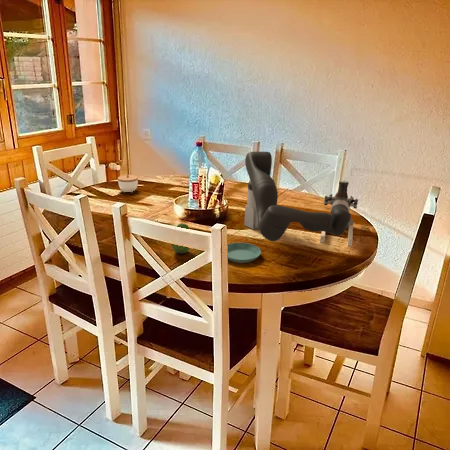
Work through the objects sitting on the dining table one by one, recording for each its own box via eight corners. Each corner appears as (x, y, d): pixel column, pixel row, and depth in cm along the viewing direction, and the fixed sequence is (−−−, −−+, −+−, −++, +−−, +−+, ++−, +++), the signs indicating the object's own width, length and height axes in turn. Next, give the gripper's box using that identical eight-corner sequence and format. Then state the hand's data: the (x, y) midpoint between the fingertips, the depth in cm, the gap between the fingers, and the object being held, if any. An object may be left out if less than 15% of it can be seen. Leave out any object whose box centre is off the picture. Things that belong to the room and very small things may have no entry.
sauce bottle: (337, 227, 185) (343, 183, 179) (327, 223, 190) (332, 180, 184) (348, 225, 189) (354, 182, 182) (338, 221, 194) (343, 179, 187)
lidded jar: (122, 187, 236) (121, 171, 233) (141, 188, 235) (140, 172, 232) (115, 193, 226) (114, 176, 223) (134, 194, 225) (133, 177, 222)
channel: (351, 246, 168) (353, 235, 166) (320, 242, 171) (321, 231, 169) (352, 230, 184) (353, 219, 182) (323, 227, 187) (324, 216, 185)
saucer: (221, 265, 151) (221, 259, 150) (221, 248, 164) (221, 242, 163) (262, 266, 151) (262, 259, 150) (258, 248, 165) (259, 242, 164)
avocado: (193, 256, 157) (193, 226, 152) (172, 257, 155) (171, 227, 151) (190, 247, 164) (190, 218, 160) (170, 248, 162) (169, 220, 158)
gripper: (321, 214, 178) (324, 203, 192) (356, 218, 174) (356, 206, 189) (323, 198, 175) (326, 187, 190) (359, 201, 171) (358, 190, 186)
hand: (341, 197), depth 189 cm, fingers open, 8 cm apart
